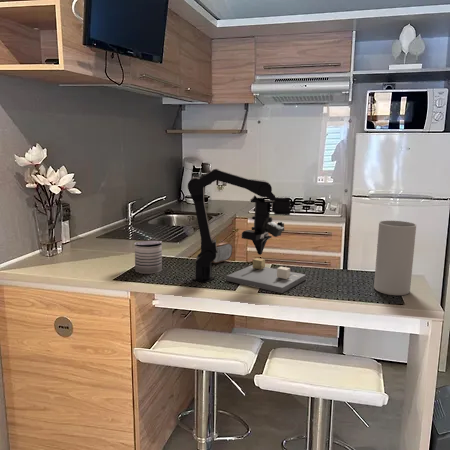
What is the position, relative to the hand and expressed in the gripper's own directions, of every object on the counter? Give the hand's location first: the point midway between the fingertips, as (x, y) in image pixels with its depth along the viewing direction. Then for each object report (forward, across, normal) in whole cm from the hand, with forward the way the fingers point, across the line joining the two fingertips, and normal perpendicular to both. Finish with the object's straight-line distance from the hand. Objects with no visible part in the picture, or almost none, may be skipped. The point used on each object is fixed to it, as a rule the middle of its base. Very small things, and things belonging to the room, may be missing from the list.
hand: (259, 254), depth 177 cm
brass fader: (+8, +8, +5) cm, 12 cm away
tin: (+11, +14, +28) cm, 33 cm away
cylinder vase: (+10, +20, -45) cm, 50 cm away
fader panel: (+10, +2, -2) cm, 11 cm away
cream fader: (+8, +3, -9) cm, 12 cm away
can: (+12, -16, +43) cm, 48 cm away
